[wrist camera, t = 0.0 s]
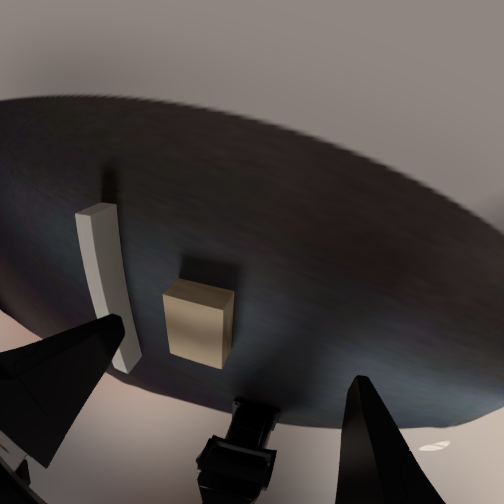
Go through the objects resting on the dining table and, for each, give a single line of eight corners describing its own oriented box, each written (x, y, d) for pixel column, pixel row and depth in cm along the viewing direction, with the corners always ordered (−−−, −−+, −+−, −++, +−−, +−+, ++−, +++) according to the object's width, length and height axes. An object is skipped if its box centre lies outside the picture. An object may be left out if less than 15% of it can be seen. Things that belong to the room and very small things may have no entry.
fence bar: (142, 355, 35) (127, 374, 31) (129, 350, 35) (114, 367, 32) (116, 204, 25) (90, 216, 22) (101, 202, 26) (75, 213, 22)
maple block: (231, 347, 29) (221, 369, 26) (183, 334, 31) (170, 353, 27) (235, 289, 26) (223, 310, 23) (179, 276, 27) (162, 294, 24)
